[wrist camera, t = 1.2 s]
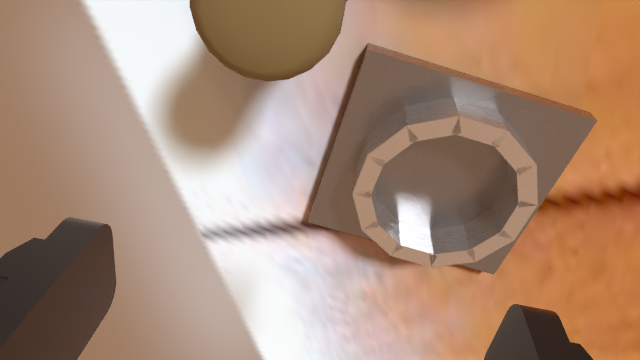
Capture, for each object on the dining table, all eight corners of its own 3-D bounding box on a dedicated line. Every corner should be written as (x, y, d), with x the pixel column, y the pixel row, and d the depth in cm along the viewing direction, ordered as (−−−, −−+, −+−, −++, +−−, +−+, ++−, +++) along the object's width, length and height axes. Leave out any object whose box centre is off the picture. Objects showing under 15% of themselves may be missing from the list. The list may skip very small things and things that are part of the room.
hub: (309, 213, 33) (303, 246, 30) (368, 43, 26) (367, 64, 23) (490, 264, 34) (501, 301, 31) (590, 112, 27) (615, 141, 24)
